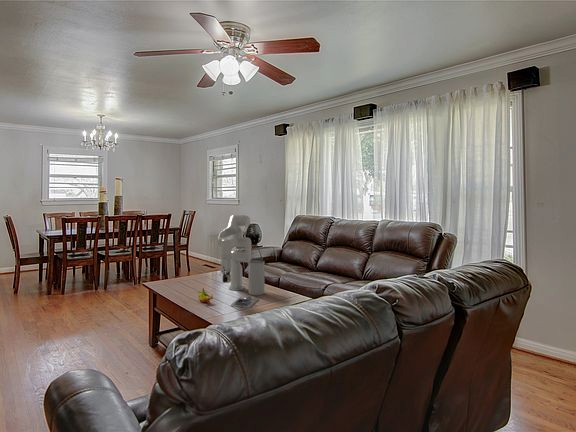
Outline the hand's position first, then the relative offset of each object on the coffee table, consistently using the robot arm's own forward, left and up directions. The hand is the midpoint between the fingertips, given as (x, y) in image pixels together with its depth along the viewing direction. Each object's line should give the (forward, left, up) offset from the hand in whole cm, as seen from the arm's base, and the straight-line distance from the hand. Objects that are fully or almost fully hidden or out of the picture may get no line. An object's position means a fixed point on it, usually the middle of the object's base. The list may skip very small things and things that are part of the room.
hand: (226, 280), depth 269 cm
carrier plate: (0, +14, -15) cm, 21 cm away
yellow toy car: (+4, -16, -15) cm, 23 cm away
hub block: (0, 0, -1) cm, 1 cm away
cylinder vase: (-26, +15, -15) cm, 33 cm away
